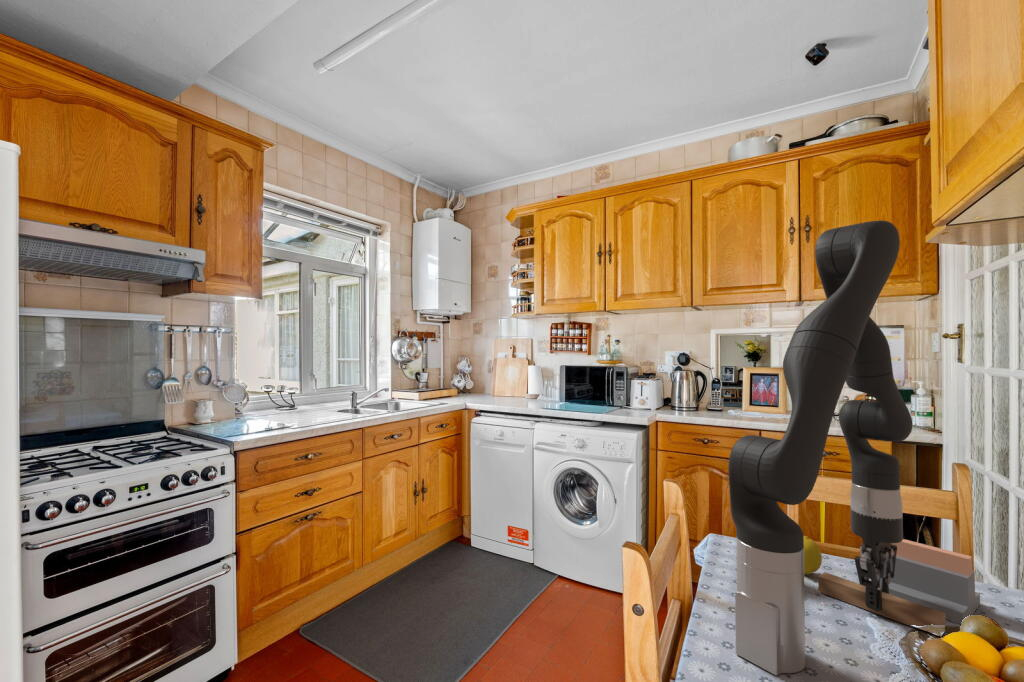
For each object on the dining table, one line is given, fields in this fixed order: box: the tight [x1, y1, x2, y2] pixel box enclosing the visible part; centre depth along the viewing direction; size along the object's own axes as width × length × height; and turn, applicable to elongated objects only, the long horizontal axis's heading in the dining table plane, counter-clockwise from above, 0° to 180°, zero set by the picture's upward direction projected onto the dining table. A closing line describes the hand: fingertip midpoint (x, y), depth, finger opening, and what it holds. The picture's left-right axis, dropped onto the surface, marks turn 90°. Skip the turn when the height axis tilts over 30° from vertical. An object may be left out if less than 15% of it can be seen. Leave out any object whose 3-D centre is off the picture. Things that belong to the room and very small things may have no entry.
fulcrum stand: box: [888, 538, 981, 625], centre depth 89 cm, size 12×12×10 cm
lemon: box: [803, 535, 823, 576], centre depth 99 cm, size 6×6×8 cm
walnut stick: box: [818, 571, 947, 626], centre depth 84 cm, size 18×3×3 cm, turn 35°
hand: (877, 605), depth 84 cm, fingers closed on walnut stick, 3 cm apart
